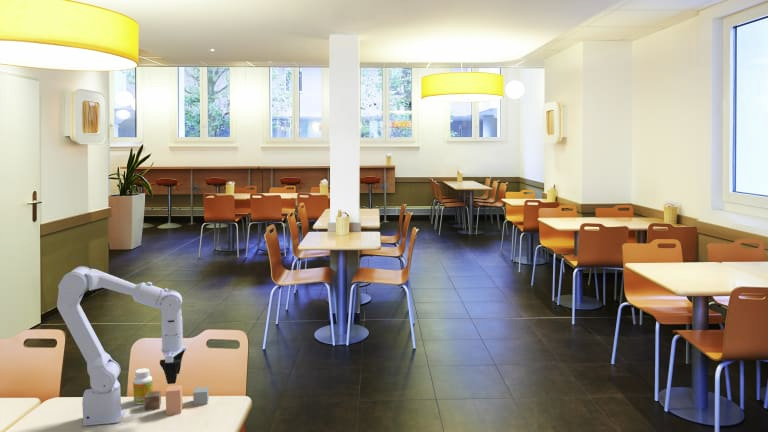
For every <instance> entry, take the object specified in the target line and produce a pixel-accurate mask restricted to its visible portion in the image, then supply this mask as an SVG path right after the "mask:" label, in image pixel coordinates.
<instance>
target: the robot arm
mask: <svg viewBox="0 0 768 432" xmlns="http://www.w3.org/2000/svg"><path fill="white" fill-rule="evenodd" d="M57 287H58V293H57V302H56V307H57V310H58V312H59V314H60V316H61V318H62V319H63V321H64V323H65V324H66V326H67V329H68V330H69V332H70V334H71V336H72V338H73V340H74V342H75V343H76V346H77V347H78V349H79V350H80V353H81V354H82V356H83V358H84V360H85V362H86V367H87V368H86V369H87V374H88V376H89V383H90V385H89V386H90V388H89V389H85V390H84V392H83V394H82V395H83V396H82V405H81V406H82V421H83V422H82V427H83V426H84V427H86V426H96V425H108V424H118V423H120V421H121V420H122V419H123V416H124V415H125V413H126V409H122V398H121V393H122V392H121V383H120V382H119V380H118V378H119V376H120V374H121V366H120V364H119V363H118V362H117V361H115V360H114V359H113V358H112V357H111V355H110V354H109V353H107V352H106V350H104V347H103V346H102V344H101V341H100V340H99V337H98V336H97V334H96V332H95V331H94V328H93V327H92V324H91V323H90V321H89V319H88V317H87V316H86V313H85V312H84V310H83V308H82V305H80V304H81V301H82V299H83V296H84V294H85V292H86V291H87V290H88V291H93V290H97V289H102V288H104V289H107V290H110V291H115V292H118V293H120V294H125V295H129V296H131V297H132V299H133V301H134V302H136V303H139V304H141V305H142V304H143V305H145V306H148V307H150V308H151V307H152V308H154V309H159V310H160V312H161V319H160V321H161V353H162V355H163V356H164V359H160V360H159V366H160V367H161V368H162V370H163V373H164V376H165V380H166V383H167V385H175V384H176V382H177V379H178V378H177V377H178V375H180V372H181V366H182V361H183V356H184V354H185V351H187V350H188V345H184V334H183V332H184V330H183V316H182V314H183V313H182V303H183V296H182V295H181V294H180V293H179V292H178V291H176V290H175V289H169V288H166V287H165V288H161V287H158V286H156V285H153V282H151V281H147V282H140V283H138V284H135V283H133V282H130V281H128V280H126V279H122V278H119V277H117V276H115V275H112V274H109V273H106V272H104V271H102V270H99V269H96V268H89V267H88V266H83V265H80V266H77V267H75V268H74V269H72V270H71V271H70V272H68V273H65V274H64V276H63V277H62V279H61V280H60V281H59V283H58V284H57Z"/></svg>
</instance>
